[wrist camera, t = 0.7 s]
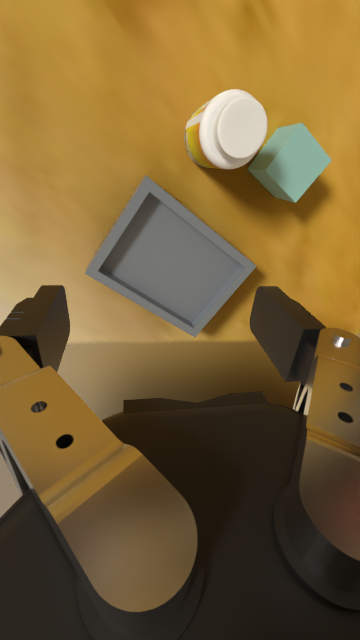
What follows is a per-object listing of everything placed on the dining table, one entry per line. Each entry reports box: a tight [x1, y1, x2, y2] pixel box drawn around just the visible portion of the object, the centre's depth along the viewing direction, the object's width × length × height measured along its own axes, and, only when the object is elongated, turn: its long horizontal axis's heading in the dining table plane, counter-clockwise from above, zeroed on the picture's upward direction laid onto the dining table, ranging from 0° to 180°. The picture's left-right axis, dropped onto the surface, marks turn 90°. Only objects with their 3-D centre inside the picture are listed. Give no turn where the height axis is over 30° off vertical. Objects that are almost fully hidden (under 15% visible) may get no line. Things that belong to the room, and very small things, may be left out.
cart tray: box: [85, 175, 256, 337], centre depth 34 cm, size 12×16×4 cm
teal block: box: [247, 123, 331, 203], centre depth 30 cm, size 5×5×5 cm
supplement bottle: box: [184, 89, 267, 169], centre depth 26 cm, size 6×6×10 cm
